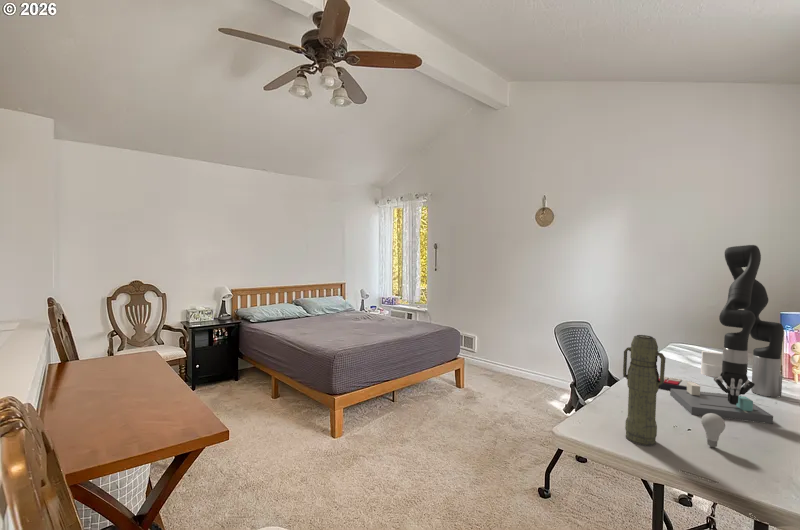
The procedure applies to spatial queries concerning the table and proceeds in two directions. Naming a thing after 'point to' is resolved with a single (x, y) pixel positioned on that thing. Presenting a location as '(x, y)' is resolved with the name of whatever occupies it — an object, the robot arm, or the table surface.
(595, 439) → the table surface
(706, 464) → the table surface
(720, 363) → the white cylinder
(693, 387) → the block
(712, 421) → the lightbulb
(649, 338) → the thermos
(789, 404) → the table surface
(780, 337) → the robot arm
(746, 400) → the fader teal
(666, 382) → the calculator
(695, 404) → the console
